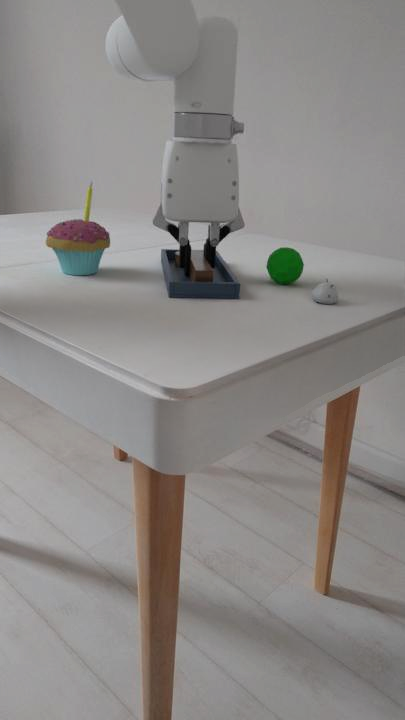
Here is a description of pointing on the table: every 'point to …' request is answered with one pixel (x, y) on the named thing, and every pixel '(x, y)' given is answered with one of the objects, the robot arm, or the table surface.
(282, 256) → the polyhedron
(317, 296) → the white bumpy lump
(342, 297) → the table surface
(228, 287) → the tray
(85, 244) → the cupcake
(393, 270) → the table surface
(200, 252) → the disc-ended wooden bar
